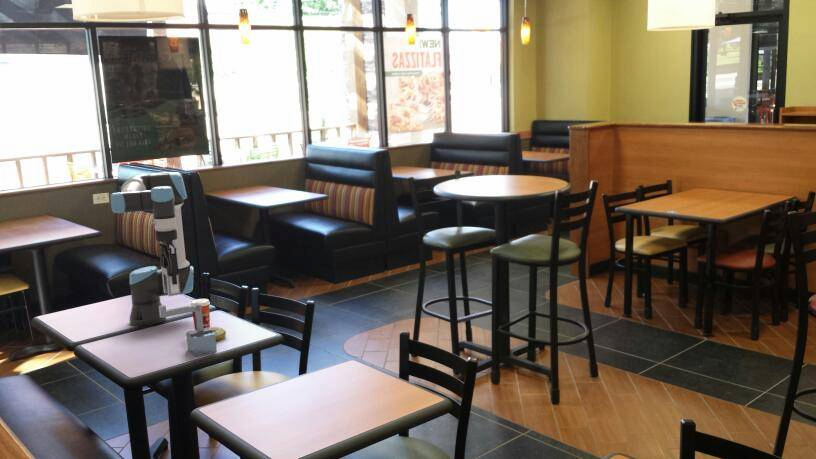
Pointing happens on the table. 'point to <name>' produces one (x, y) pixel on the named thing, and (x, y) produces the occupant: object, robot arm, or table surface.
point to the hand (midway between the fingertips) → (171, 290)
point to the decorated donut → (219, 333)
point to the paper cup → (205, 312)
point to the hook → (168, 281)
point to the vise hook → (197, 339)
